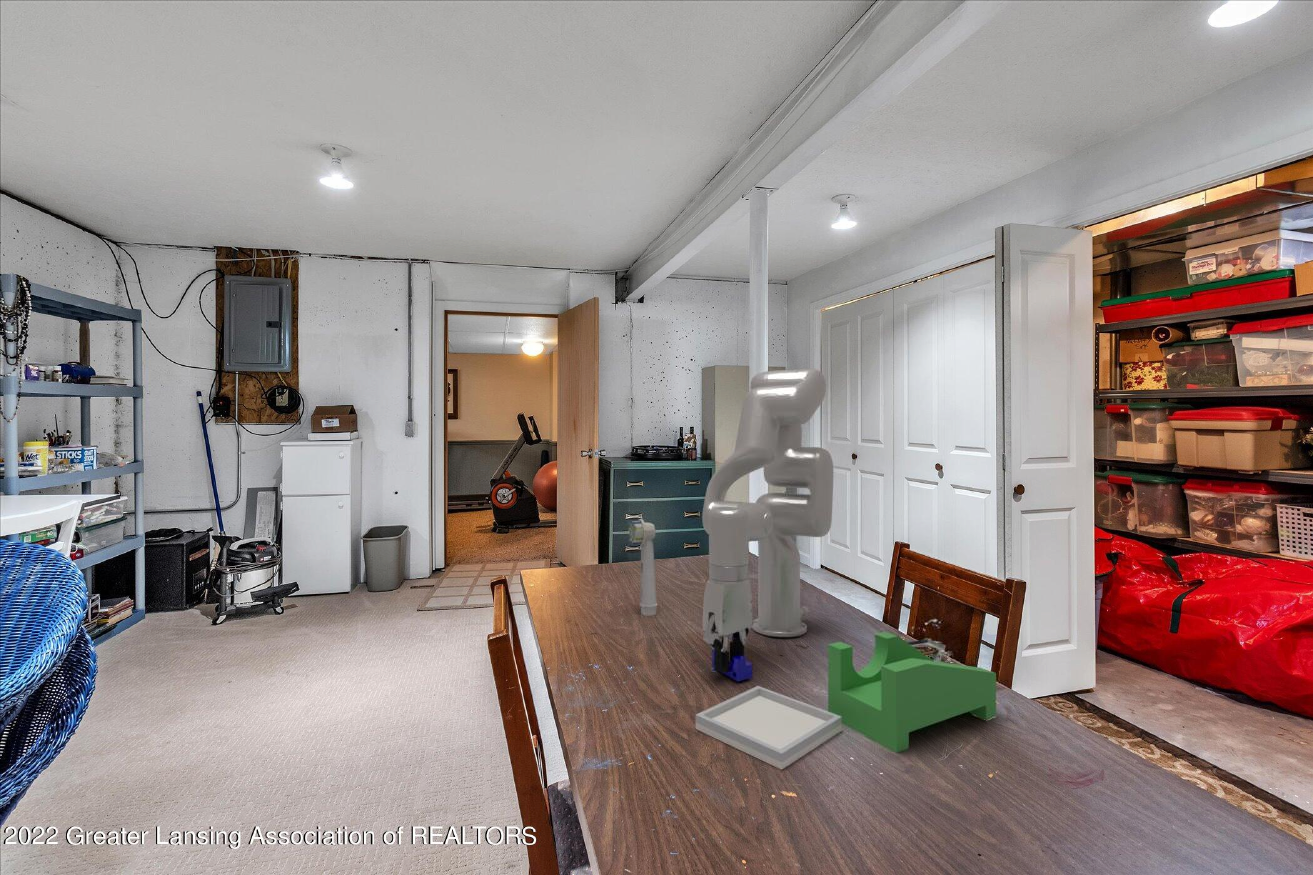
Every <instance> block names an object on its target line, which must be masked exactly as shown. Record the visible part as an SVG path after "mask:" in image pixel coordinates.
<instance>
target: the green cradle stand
mask: <svg viewBox="0 0 1313 875" xmlns="http://www.w3.org/2000/svg"><path fill="white" fill-rule="evenodd" d="M874 640H875V644H874V645H875V646H874V650H873V654H872V657H871V659H870V661H868V664H867V665H866V666H865V667H864V668H862V669H861V670H859V671H856V670H855V667H854V664H853V663H854V662H853V659H854V658H853V646H852V645H850V644H846V643H844V642H842V641H836V642H833V643H828V646H827V648H828V649H827V650H828V651H827V653H828V654H827V658H828V660H827V661H828V662H827V663H828V665H827V670H828V674H827V676H828V677H827V678H828V679H827V680H828V682H827V683H828V684H827V685H828V686H827V688H828V689H827V690H828V693H827V694H828V699H827V703H828V709H827V711H828V712H831V713H833V714H836V715H839V716H842V725H844V726H846V727H848V728H850V729H851V730H854V731H856V732H857V733H859V734H861V735H863V736H864V737H867V738H869V739H870V740H872V741H874V742H875V743H878V744H879V745H881V746H883V747H885V748H887V749H889V750H890V751H893V752H894V753H896V754H897V753H900V752H903V751H906V750H907V749H909V746H910V745H909V744H910V742H909V741H910V739H909V738H910V736H909V735H910V734H909V733H911V732H914V731H916V730H920V729H922V728H926V727H928V726H931V725H934V724H936V723H940V722H943V721H946V720H948V719H951V718H954V717H956V716H960V715H962V714H963V715H964V714H965V713H968V712H969V713H968V714H970V713H972V714H973V715H976V716H978V717H980V718H982V719H985V720H988V719H990V718H992V717H994V716H996V717H997V673H996V672H994V671H991V670H987V669H986V668H983V667H978V666H971V665H970V666H969V665H963V664H955V663H950V662H949V663H944V661H941V662H936V661H933V659H932V658H929V657H927V656H926V655H924V654H923V653H921V652H920V651H921V650H918V649H916V648H914V647H913V646H911V645H910V644H908V643H907V642H908V641H905V639H904V638H901V636H898V635H896V634H892V633H890V632H887V631H882V632H878V633H874ZM973 715H972V716H973ZM982 719H981V720H982Z"/></svg>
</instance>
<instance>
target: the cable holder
mask: <svg viewBox="0 0 1313 875" xmlns="http://www.w3.org/2000/svg"><path fill="white" fill-rule="evenodd" d="M711 665H712V666H711V667H712V668H714V669H715V664H714V649H712V648H711ZM753 670H754V669H753V663H751V662H750V661H747V657H746V656H745V655H744V656H742V655H740V656H736V657H733V659H732V663H731V662H730V660H729V672H728V673H724V672H721V671H719V670H717V671H718V672H721V673H722V674H724V675H725V676H727V677H728V678H731V679H732V680H734V681H736V682H741V681H744V680H748V679H752V678H753Z"/></svg>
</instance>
